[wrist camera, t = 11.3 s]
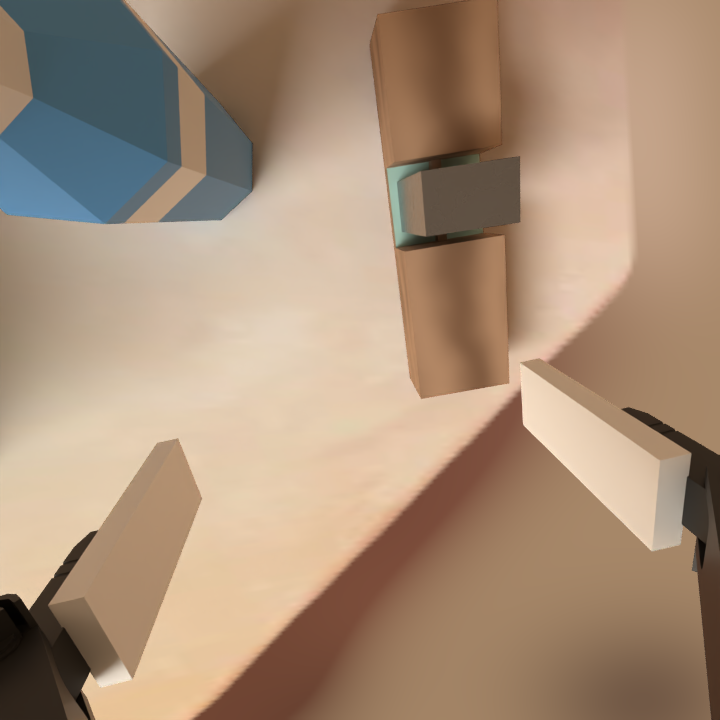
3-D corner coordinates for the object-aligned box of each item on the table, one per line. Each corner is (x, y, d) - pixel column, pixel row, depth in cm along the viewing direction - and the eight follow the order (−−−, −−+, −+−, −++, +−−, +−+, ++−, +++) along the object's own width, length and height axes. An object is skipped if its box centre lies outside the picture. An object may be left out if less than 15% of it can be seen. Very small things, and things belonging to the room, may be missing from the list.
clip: (401, 231, 35) (426, 236, 27) (396, 182, 34) (420, 171, 26) (473, 220, 36) (520, 222, 27) (471, 171, 34) (519, 156, 26)
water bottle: (114, 116, 31) (-510, -183, 8) (229, 77, 31) (-61, -347, 8) (169, 236, 35) (-159, 280, 11) (273, 202, 34) (164, 173, 11)
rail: (410, 377, 41) (421, 398, 36) (369, 44, 31) (377, 14, 26) (488, 364, 41) (509, 383, 36) (471, 29, 31) (497, -4, 27)
